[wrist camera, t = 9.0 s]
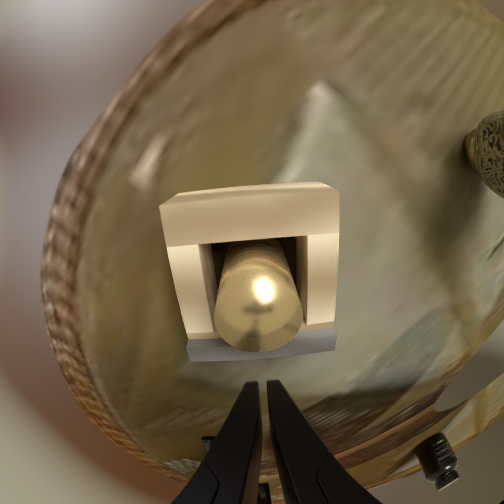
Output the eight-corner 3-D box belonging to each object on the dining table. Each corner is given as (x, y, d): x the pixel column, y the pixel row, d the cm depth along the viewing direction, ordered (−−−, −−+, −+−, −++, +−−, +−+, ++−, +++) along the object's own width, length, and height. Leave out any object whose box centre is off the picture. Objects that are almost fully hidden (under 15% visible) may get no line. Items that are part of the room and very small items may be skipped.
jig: (318, 314, 20) (334, 355, 16) (201, 323, 20) (192, 366, 16) (319, 181, 17) (344, 193, 12) (178, 193, 17) (154, 209, 12)
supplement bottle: (434, 444, 34) (452, 484, 23) (409, 454, 34) (425, 498, 23) (449, 427, 32) (470, 470, 21) (423, 438, 32) (443, 485, 21)
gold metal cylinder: (285, 282, 19) (302, 348, 13) (228, 287, 19) (220, 354, 13) (283, 228, 18) (303, 276, 11) (221, 233, 18) (207, 283, 11)
